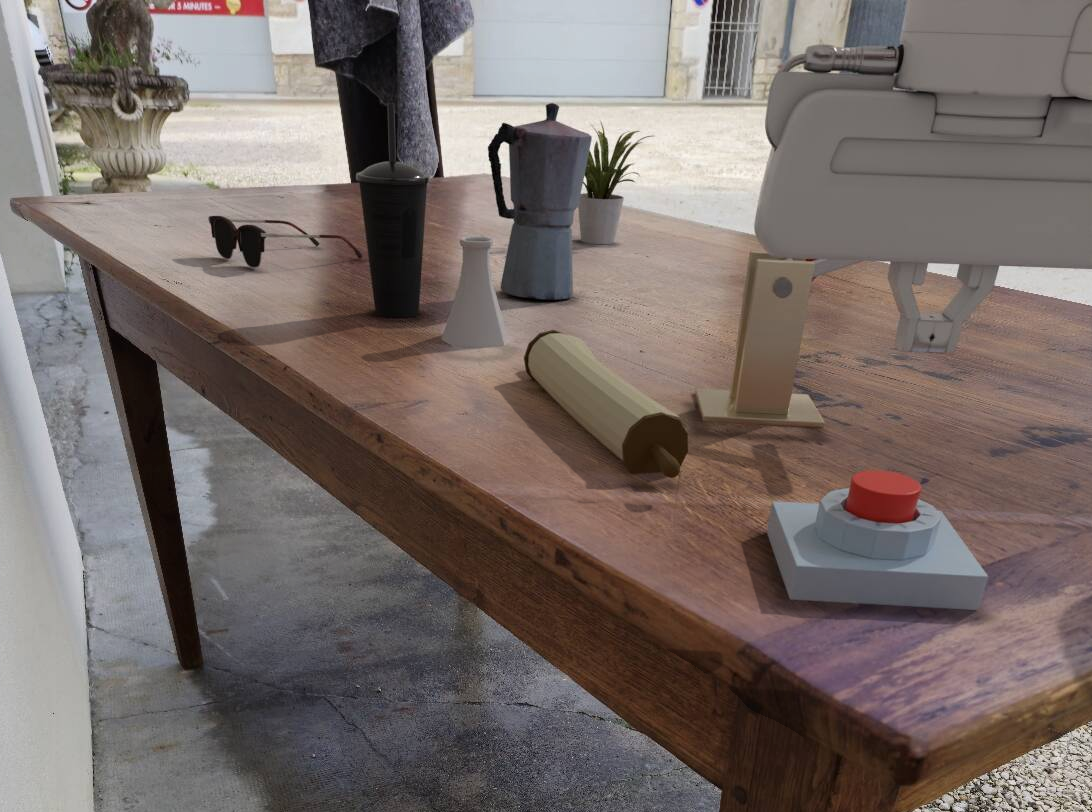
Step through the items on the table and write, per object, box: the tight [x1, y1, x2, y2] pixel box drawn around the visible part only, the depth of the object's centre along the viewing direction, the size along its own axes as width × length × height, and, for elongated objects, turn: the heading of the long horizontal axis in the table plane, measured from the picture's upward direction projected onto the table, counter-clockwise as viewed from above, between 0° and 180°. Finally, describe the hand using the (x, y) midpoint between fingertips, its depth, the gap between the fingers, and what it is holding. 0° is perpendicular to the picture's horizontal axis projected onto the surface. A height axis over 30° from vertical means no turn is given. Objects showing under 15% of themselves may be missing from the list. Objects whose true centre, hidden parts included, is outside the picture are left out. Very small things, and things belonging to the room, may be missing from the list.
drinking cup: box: [355, 102, 431, 319], centre depth 111 cm, size 8×8×20 cm
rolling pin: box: [523, 329, 691, 479], centre depth 84 cm, size 32×6×5 cm, turn 16°
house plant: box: [577, 120, 654, 245], centre depth 157 cm, size 14×14×16 cm
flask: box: [441, 235, 510, 349], centre depth 103 cm, size 7×7×10 cm
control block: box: [766, 487, 989, 611], centre depth 64 cm, size 11×10×4 cm
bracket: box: [694, 249, 826, 429], centre depth 86 cm, size 10×8×13 cm
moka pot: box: [487, 102, 593, 301], centre depth 121 cm, size 10×15×20 cm, turn 136°
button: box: [845, 470, 922, 524], centre depth 62 cm, size 4×4×2 cm
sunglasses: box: [207, 215, 363, 269], centre depth 140 cm, size 14×16×5 cm
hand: (923, 350), depth 58 cm, fingers closed
